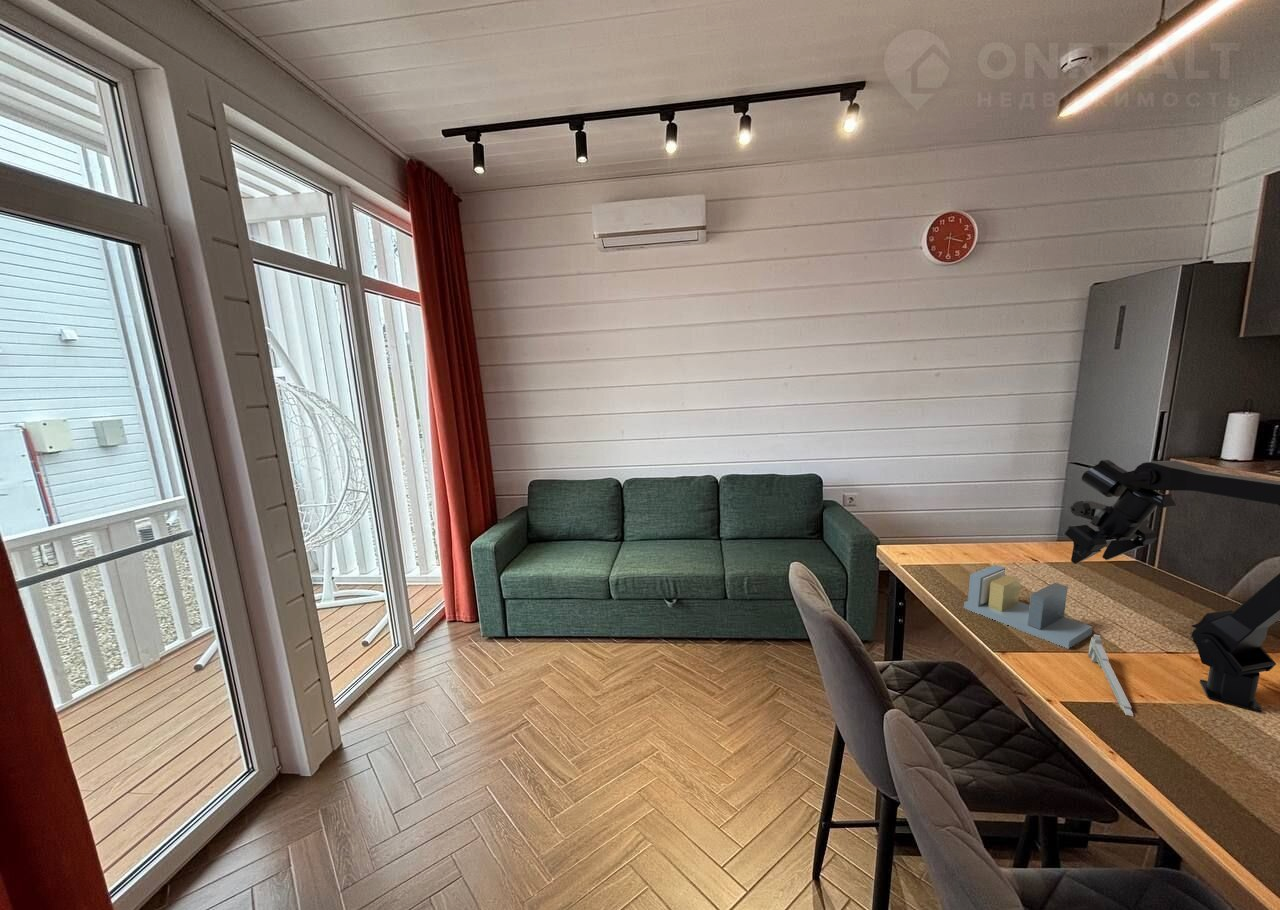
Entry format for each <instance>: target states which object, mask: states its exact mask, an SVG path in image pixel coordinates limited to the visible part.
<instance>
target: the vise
mask: <svg viewBox="0 0 1280 910" xmlns="http://www.w3.org/2000/svg"><path fill="white" fill-rule="evenodd" d="M1005 575H1006V567H1004V566H1000V565H997V564H993V565H991V566H988V567H984V569H980V570H978V571H975V572H973V573H970V574H969V581H968V582H969V584H968V596H967V600H966V601H965V600H964V603H963V609H964V608H965V609H964V610H966V609H967V610H966V611H969V610H970V611H969V612H971V611H972V613H974V612H975V613H974V614H976V613H977V614H976V615H979V614H981V615H983V616H982V617H984V616H985V617H984V618H987V617H988V618H987V619H989V618H990V619H989V620H992V619H993V620H992V621H994V620H996V621H995V622H997V621H998V622H997V623H999V622H1001V623H1000V624H1002V623H1004V624H1003V625H1005V624H1006V625H1005V626H1007V625H1009V626H1008V627H1010V626H1012V627H1014V628H1013V629H1015V628H1016V629H1015V630H1017V629H1018V631H1020V630H1021V631H1020V632H1023V633H1025V632H1026V634H1028V635H1030V634H1031V635H1030V636H1033V637H1035V636H1036V638H1038V637H1039V638H1038V639H1041V638H1042V639H1041V640H1043V639H1045V640H1044V641H1046V640H1047V641H1046V642H1048V641H1050V642H1049V643H1051V642H1052V643H1051V644H1053V643H1054V644H1053V645H1056V644H1057V645H1056V646H1059V645H1060V646H1059V647H1061V646H1063V647H1062V648H1064V647H1065V648H1064V649H1066V648H1067V650H1070V649H1071V648H1072V646H1073V647H1074V646H1076V645H1077V644H1079V643H1080V642H1082V641H1083V640H1085V639H1087V638H1088V637H1090V636H1091V635H1092V634H1093V626H1092V625H1089V624H1086V623H1083V622H1080V621H1077V620H1075V619H1072V618H1069V617H1066V616H1063V617H1061V618H1060V619H1058V620H1056V621H1054V622H1053V623H1051V624H1049V625H1047V626H1045V627H1044V628H1042V629H1038V628H1035V627H1033V626H1030V625H1028V616H1029V607H1030V604H1028V603H1026V602H1023V601H1019V600H1018V604H1017V605H1015V606H1013V607H1011V608H1009V609H1007V610H1004V611H1002V612H1000V611H997V610H995V609H992V608H989V607H988V604H989V594H990V584H991V581H994V580H996V579H998V578H1001V577H1003V576H1005ZM981 615H980V616H981ZM1012 627H1011V628H1012ZM1075 644H1076V645H1075ZM1070 647H1071V648H1070Z"/></svg>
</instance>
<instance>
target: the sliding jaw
mask: <svg viewBox="0 0 1280 910" xmlns="http://www.w3.org/2000/svg"><path fill="white" fill-rule="evenodd" d="M1067 595H1068V586H1067V585H1064V584H1061V583H1058V582H1053V583H1052V584H1049V585H1047V586H1045V587H1042V588H1041V589H1039V590H1037V591H1034V592H1032V593H1031V594H1030V599H1029V605H1030V607H1029V616H1028V625H1030V626H1033V627H1035V628H1038V629H1042V628H1044V627H1045V626H1047V625H1049V624H1051V623H1053V622H1054V621H1056V620H1058V619H1060V618H1061V617H1065V612H1066V611H1065V610H1066V603H1067Z"/></svg>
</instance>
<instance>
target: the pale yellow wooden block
mask: <svg viewBox="0 0 1280 910" xmlns="http://www.w3.org/2000/svg"><path fill="white" fill-rule="evenodd" d="M1020 586H1021V578H1018V577H1015V576H1011V575H1009V574H1005V575H1004V576H1003V577H1001V578H998V579H996V580H994V581H991V584H990V594H989V604H988V607H989V608H992V609H995V610H997V611H1000V612H1002V611H1004V610H1007V609H1009V608H1011V607H1013V606H1015V605H1017V604H1018V601H1019V594H1020Z"/></svg>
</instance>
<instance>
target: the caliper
mask: <svg viewBox="0 0 1280 910" xmlns="http://www.w3.org/2000/svg"><path fill="white" fill-rule="evenodd" d="M1102 640H1103V639H1102V638H1101V635H1100V634H1093V636H1091V639H1090V642H1089V647H1088V658H1090V657H1092V658H1091V659H1090V662H1091V661H1092V663H1095V662H1097V663H1096V664H1098V667H1099V669H1102V671H1103V674H1104V675H1105V677H1106V680H1107V681H1108V684H1109V685H1110V688H1111V690H1112V692H1113V694H1114V697H1115V698H1116V700H1117V703H1118V705H1119V706H1120V708H1121V710H1122V711H1123V712H1124V714H1125V716H1130V717H1134V713H1133V710H1132V706H1131V703H1130V701H1129V700H1128V697H1127V696H1126V694H1125V692H1124V689H1123V687H1122V685H1121V683H1120V682H1119V681H1120V680H1119V679H1118V677H1117V676H1116V673H1115V671H1114V669H1113V668H1112V667H1113V666H1112V665H1111V663H1110V662H1109V661H1110V659H1109V657H1108V654H1107V653H1106V651H1105V648H1104V646H1103V645H1102Z"/></svg>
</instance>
